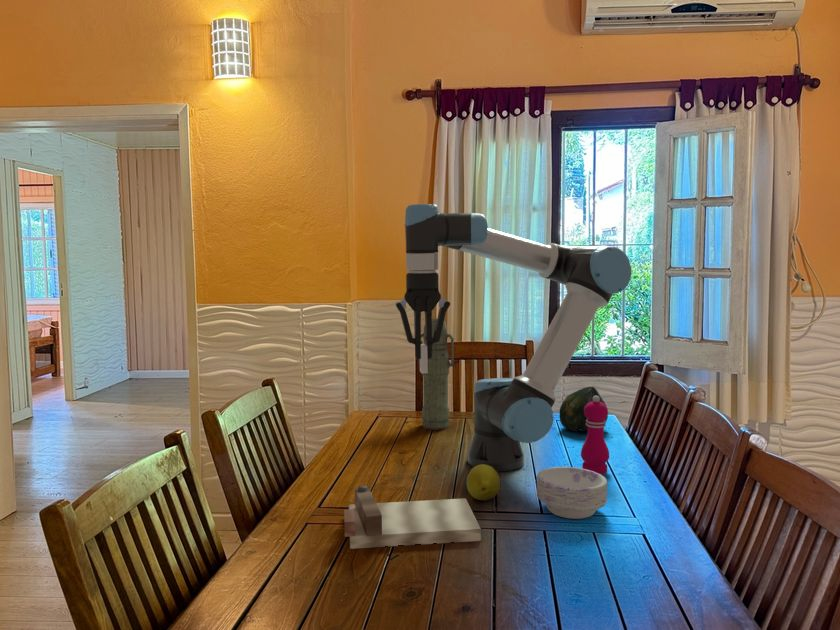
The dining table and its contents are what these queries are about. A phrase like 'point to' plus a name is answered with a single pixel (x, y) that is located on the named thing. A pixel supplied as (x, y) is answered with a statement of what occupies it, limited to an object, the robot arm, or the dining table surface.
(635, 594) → the dining table surface
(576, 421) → the squash
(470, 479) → the lemon
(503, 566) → the dining table surface
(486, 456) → the robot arm
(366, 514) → the walnut leg
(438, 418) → the thermos
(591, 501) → the paper bowls
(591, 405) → the pepper mill
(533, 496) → the dining table surface
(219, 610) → the dining table surface
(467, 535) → the stool seat
